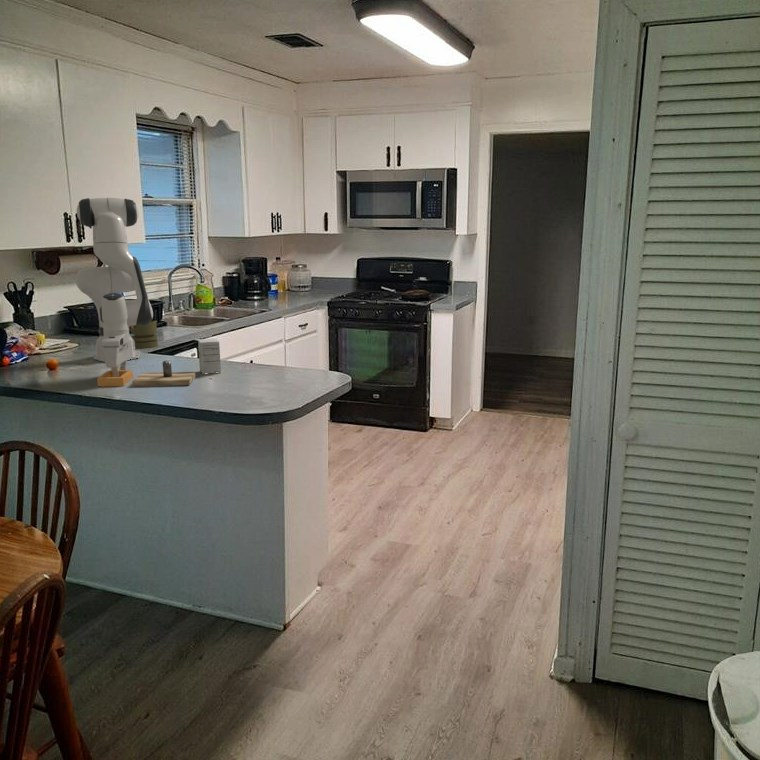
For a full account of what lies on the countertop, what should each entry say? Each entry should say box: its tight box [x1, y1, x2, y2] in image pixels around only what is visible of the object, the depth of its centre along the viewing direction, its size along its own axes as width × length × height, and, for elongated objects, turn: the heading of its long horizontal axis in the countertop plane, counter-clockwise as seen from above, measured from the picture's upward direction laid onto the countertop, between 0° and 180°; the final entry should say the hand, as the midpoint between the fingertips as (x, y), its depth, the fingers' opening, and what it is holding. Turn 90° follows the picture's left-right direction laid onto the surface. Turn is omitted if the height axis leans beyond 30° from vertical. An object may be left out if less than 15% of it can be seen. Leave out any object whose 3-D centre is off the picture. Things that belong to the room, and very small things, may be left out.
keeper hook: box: [161, 360, 173, 377], centre depth 259 cm, size 4×3×6 cm, turn 4°
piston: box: [130, 320, 159, 350], centre depth 330 cm, size 11×12×11 cm
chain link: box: [96, 369, 134, 387], centre depth 260 cm, size 13×9×3 cm
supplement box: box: [197, 338, 222, 375], centre depth 275 cm, size 7×7×13 cm
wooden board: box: [131, 371, 197, 387], centre depth 261 cm, size 14×20×2 cm
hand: (120, 374), depth 266 cm, fingers open, 8 cm apart
